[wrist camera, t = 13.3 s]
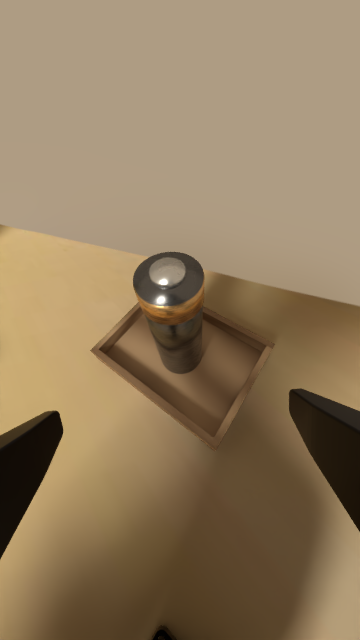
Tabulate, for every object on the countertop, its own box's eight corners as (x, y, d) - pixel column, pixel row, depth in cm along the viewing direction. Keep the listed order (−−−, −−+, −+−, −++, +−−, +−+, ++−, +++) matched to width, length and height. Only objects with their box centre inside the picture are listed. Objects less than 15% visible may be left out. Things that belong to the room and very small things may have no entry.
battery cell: (160, 376, 23) (127, 303, 12) (160, 337, 25) (132, 249, 15) (204, 372, 22) (209, 295, 12) (199, 334, 25) (200, 242, 14)
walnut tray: (214, 450, 19) (216, 449, 17) (98, 358, 25) (90, 350, 23) (269, 353, 24) (275, 344, 22) (160, 293, 29) (157, 282, 27)
